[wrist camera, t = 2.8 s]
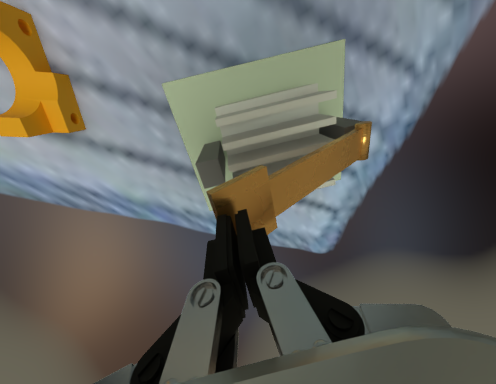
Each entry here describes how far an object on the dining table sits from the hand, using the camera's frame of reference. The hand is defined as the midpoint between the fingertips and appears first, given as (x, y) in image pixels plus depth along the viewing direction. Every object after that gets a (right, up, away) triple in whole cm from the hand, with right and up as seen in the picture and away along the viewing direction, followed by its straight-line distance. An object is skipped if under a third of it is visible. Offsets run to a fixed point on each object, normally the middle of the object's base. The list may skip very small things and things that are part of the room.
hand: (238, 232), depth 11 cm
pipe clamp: (-24, +17, +12) cm, 32 cm away
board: (+3, +11, +18) cm, 21 cm away
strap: (+5, +4, +5) cm, 8 cm away
